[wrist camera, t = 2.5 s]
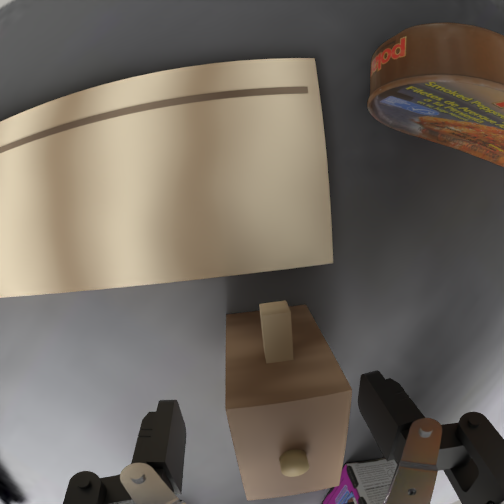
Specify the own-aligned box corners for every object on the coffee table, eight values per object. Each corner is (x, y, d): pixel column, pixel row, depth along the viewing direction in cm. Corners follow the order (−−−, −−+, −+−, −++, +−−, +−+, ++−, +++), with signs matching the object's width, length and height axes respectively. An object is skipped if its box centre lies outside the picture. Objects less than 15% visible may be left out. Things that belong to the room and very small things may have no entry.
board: (306, 68, 13) (314, 58, 11) (323, 254, 15) (333, 263, 14) (-52, 157, 12) (-68, 158, 11) (-30, 292, 14) (-44, 300, 13)
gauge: (303, 266, 15) (363, 347, 8) (308, 416, 18) (338, 513, 10) (220, 276, 15) (214, 370, 8) (244, 425, 18) (252, 527, 10)
